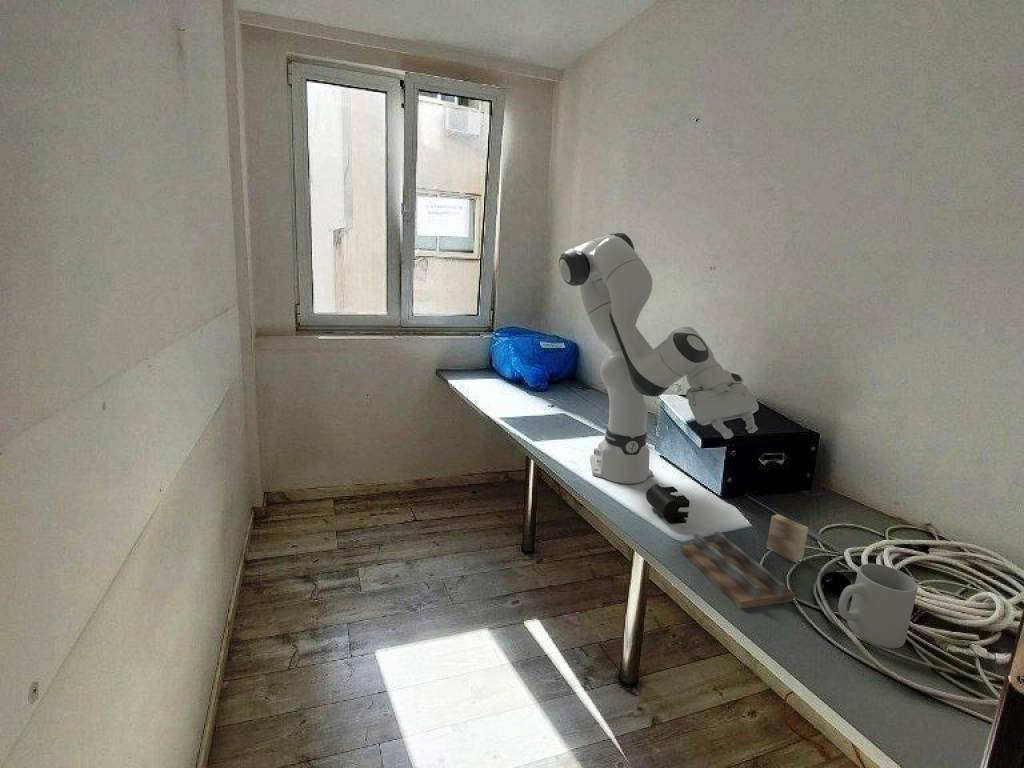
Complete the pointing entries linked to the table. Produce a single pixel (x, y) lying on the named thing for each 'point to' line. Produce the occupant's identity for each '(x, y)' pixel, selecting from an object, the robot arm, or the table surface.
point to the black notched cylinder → (668, 503)
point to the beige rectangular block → (787, 538)
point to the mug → (879, 605)
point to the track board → (736, 572)
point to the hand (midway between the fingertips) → (742, 434)
